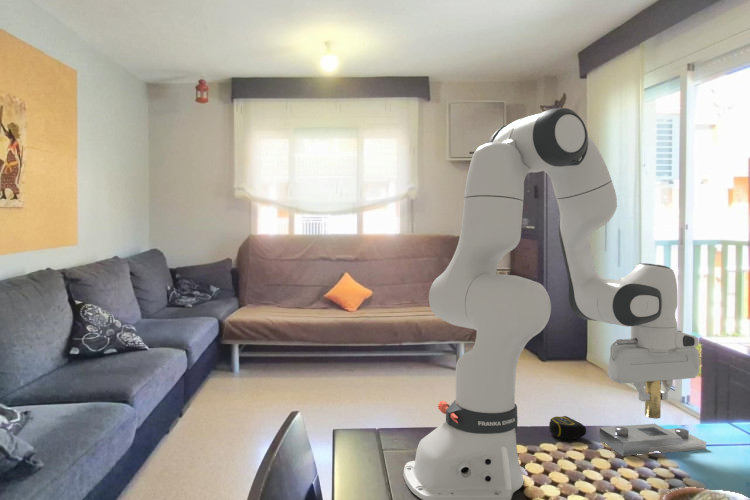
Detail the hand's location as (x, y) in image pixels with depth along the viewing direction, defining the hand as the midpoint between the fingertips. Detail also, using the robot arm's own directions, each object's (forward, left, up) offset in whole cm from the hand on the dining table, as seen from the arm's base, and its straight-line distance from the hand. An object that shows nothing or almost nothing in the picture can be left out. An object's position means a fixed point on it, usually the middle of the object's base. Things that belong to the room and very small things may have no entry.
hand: (653, 399), depth 110 cm
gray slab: (0, 0, -10) cm, 10 cm away
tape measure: (-16, +9, -10) cm, 21 cm away
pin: (0, 0, -4) cm, 4 cm away
